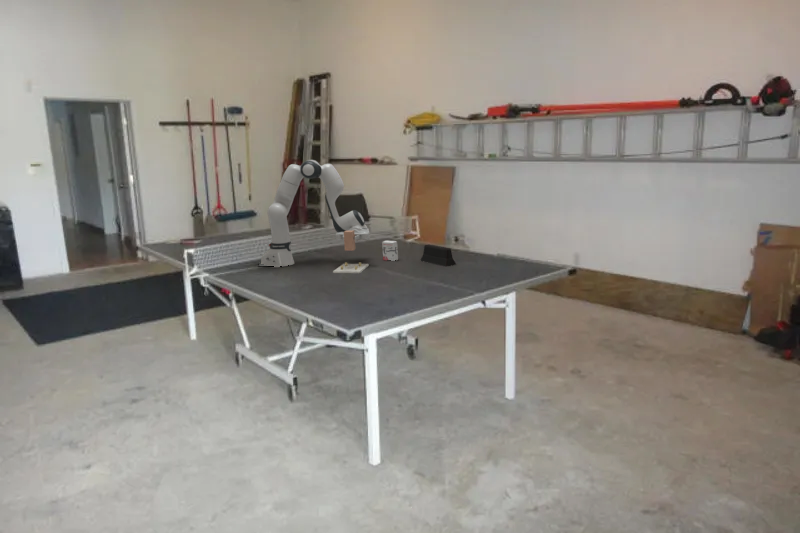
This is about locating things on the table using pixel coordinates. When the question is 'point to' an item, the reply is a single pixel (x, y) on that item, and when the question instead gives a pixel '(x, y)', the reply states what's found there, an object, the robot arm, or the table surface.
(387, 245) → the ink box
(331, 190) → the robot arm
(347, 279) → the table surface
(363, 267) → the mounting plate
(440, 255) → the barrier
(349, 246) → the terracotta block
